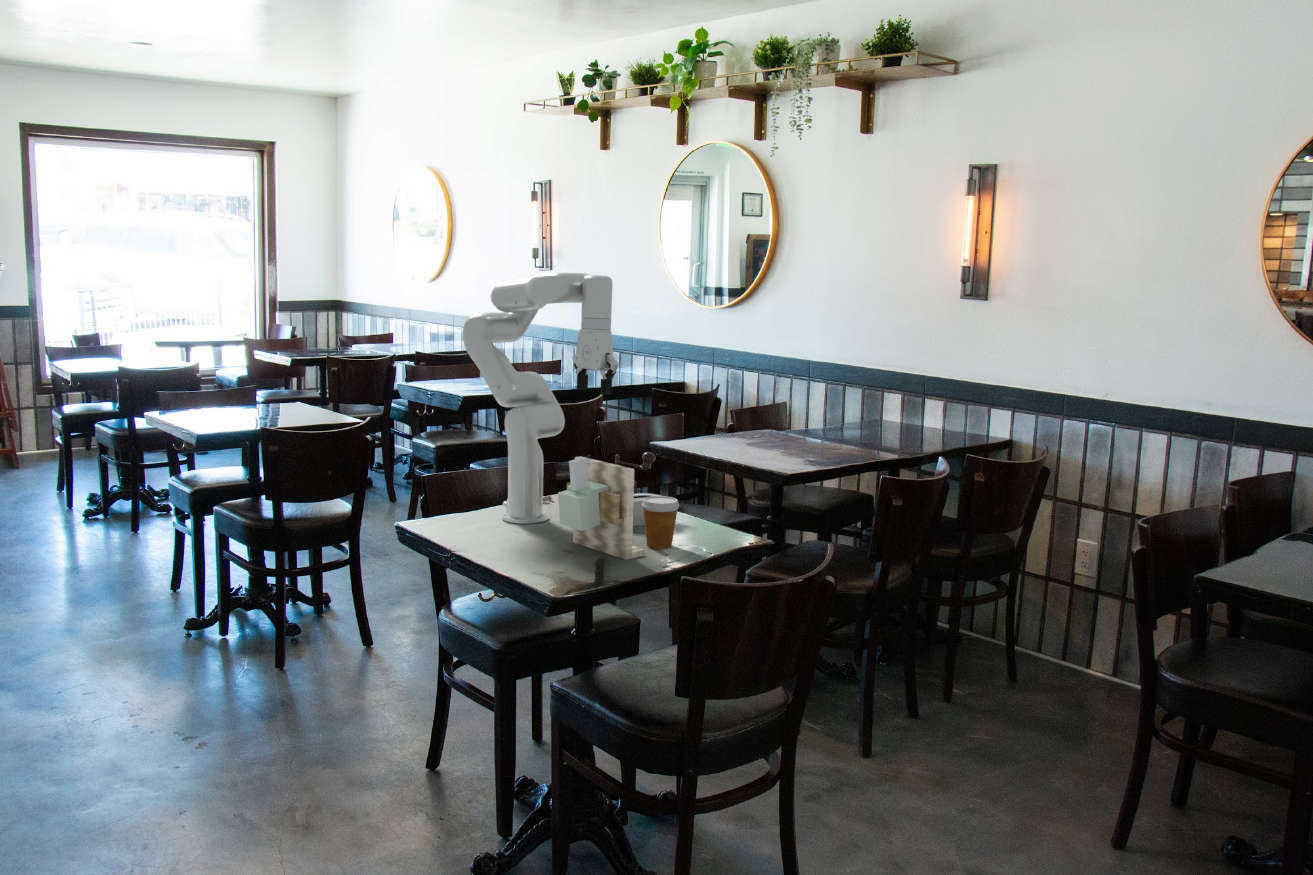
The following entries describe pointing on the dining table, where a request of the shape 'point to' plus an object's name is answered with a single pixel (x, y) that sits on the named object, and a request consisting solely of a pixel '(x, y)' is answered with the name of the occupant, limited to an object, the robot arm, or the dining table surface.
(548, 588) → the dining table surface
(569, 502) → the mint green box
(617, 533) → the wall board
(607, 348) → the robot arm
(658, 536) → the disposable coffee cup
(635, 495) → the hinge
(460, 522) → the dining table surface
